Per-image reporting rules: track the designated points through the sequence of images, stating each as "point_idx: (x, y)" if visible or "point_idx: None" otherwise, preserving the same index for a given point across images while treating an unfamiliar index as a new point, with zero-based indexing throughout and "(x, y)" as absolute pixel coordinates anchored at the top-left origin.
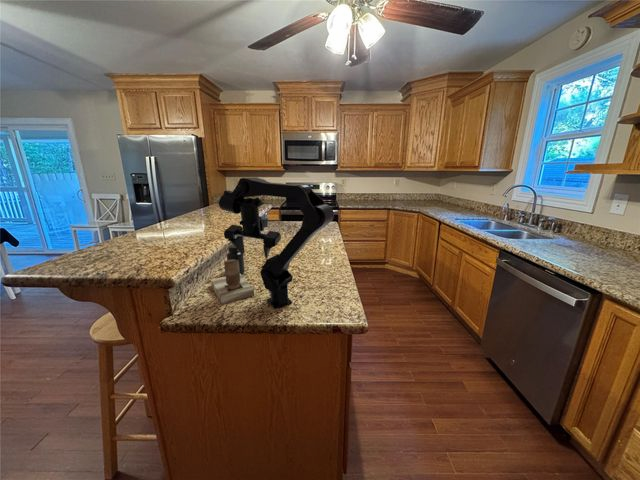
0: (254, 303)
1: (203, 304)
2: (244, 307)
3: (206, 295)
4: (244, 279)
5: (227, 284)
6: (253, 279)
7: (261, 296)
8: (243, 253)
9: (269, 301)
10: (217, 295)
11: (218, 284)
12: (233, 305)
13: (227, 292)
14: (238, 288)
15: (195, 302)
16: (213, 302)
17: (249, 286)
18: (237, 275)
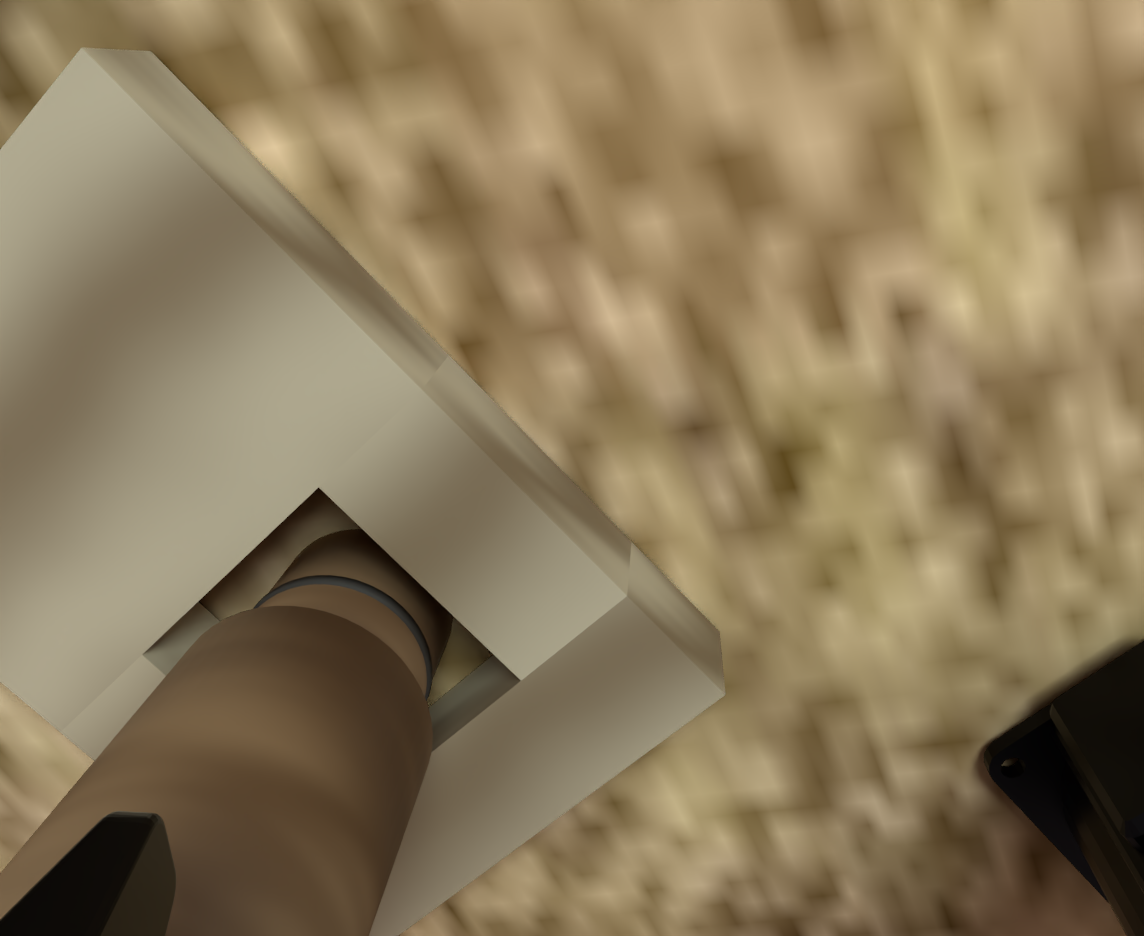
0: (809, 833)
1: None
2: (709, 929)
3: (13, 720)
4: (361, 350)
5: (173, 605)
6: (430, 8)
7: (849, 646)
8: (165, 874)
9: (1044, 823)
10: None
11: (23, 626)
12: (541, 902)
13: None
14: (432, 674)
15: None
16: None
17: (606, 623)
18: (385, 882)
